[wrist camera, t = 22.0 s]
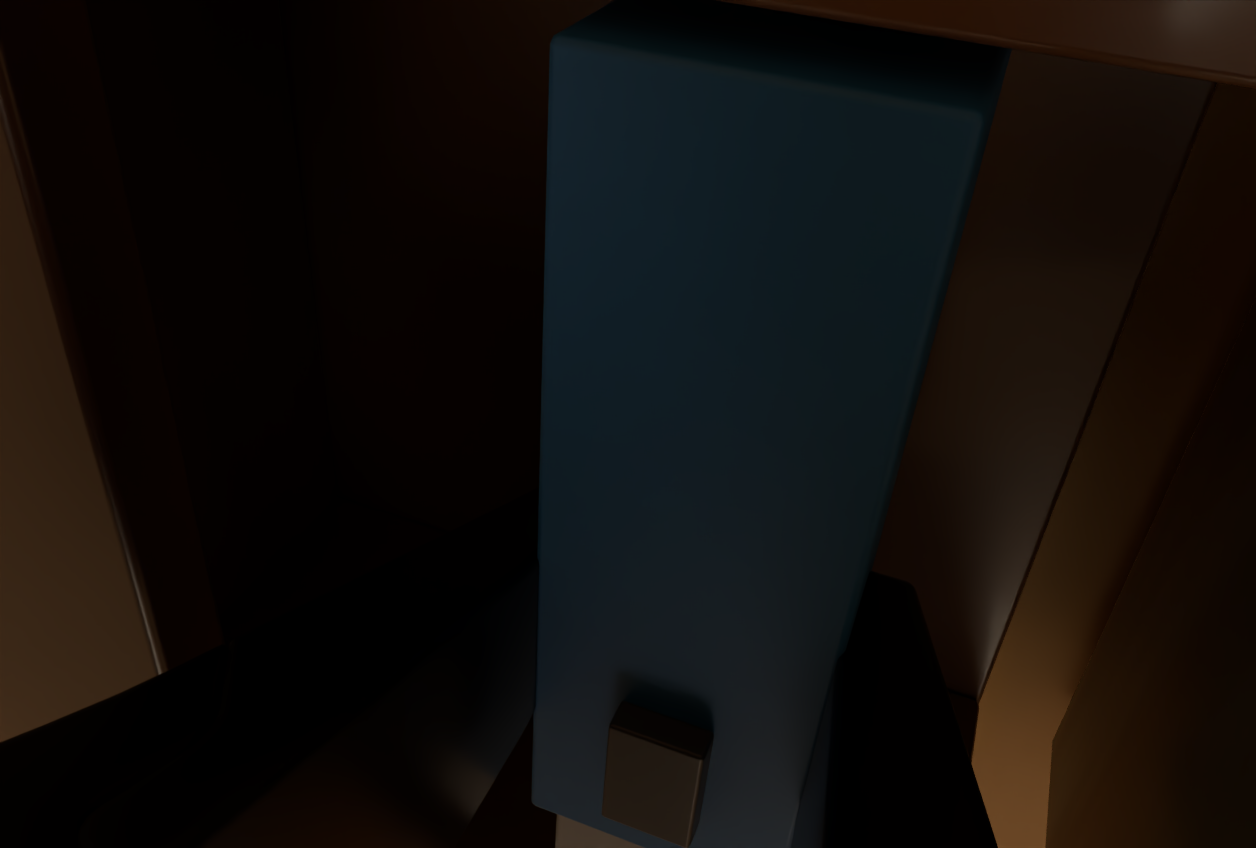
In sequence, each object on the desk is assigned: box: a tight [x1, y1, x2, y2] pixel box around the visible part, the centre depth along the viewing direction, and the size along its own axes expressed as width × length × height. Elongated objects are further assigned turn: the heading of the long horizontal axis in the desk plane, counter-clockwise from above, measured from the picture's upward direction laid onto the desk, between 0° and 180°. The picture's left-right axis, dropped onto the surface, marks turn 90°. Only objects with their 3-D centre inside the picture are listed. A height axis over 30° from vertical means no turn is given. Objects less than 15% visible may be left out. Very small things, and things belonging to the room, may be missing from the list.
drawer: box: [86, 0, 1256, 848], centre depth 11 cm, size 18×13×7 cm
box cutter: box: [531, 0, 1012, 848], centre depth 9 cm, size 10×2×3 cm, turn 175°
